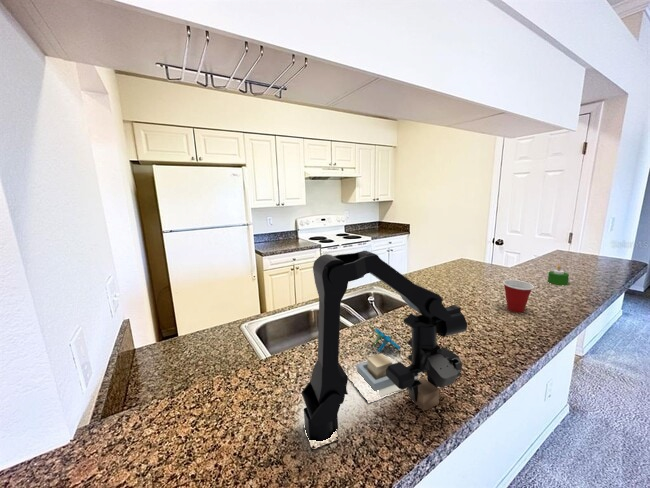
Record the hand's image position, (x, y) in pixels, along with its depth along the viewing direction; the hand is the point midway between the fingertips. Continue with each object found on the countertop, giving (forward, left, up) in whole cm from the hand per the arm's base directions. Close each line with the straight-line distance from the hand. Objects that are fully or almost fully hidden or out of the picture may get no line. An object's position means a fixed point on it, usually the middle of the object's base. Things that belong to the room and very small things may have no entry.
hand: (423, 397), depth 68 cm
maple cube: (-5, +12, 0) cm, 13 cm away
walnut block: (0, 0, -1) cm, 1 cm away
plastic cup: (+72, +24, -1) cm, 76 cm away
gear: (+6, +24, -1) cm, 25 cm away
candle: (+124, +36, -1) cm, 129 cm away
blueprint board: (-5, +12, -1) cm, 13 cm away
